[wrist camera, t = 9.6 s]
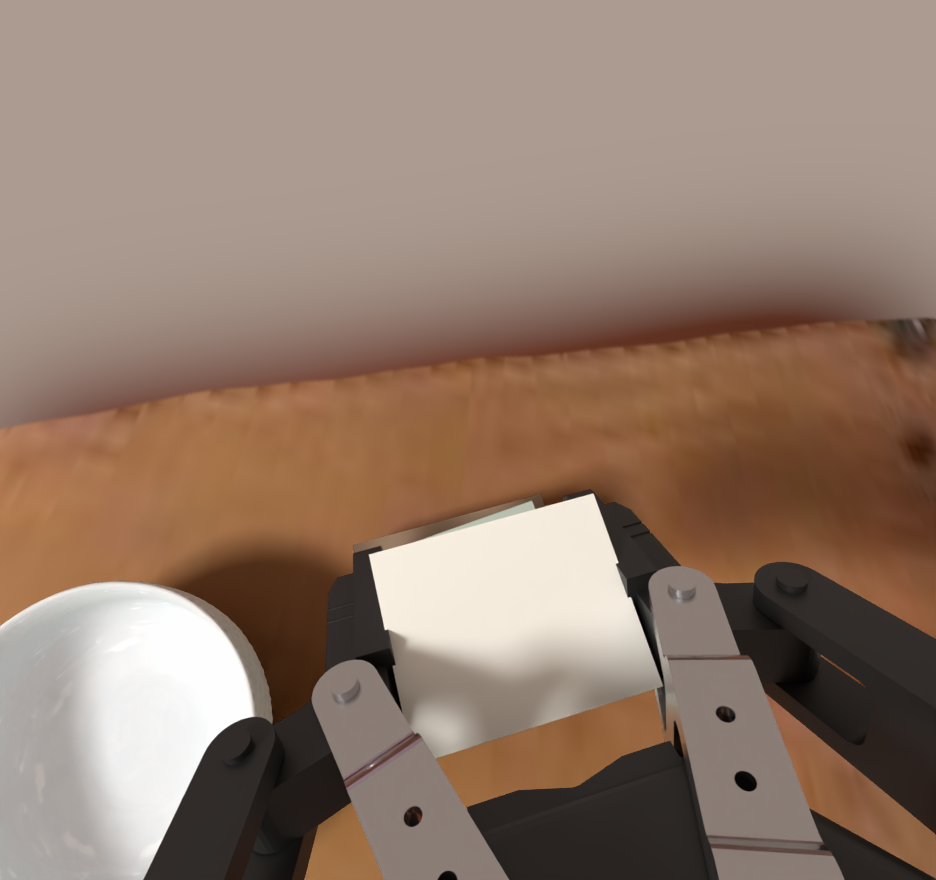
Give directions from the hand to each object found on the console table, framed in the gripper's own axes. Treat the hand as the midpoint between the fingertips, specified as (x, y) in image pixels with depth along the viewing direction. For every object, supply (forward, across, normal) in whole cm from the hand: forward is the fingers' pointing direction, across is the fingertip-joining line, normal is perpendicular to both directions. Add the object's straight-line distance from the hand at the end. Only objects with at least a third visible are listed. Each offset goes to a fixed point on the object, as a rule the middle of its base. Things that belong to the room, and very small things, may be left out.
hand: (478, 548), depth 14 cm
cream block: (+2, 0, +5) cm, 5 cm away
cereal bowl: (+14, +20, +18) cm, 30 cm away
